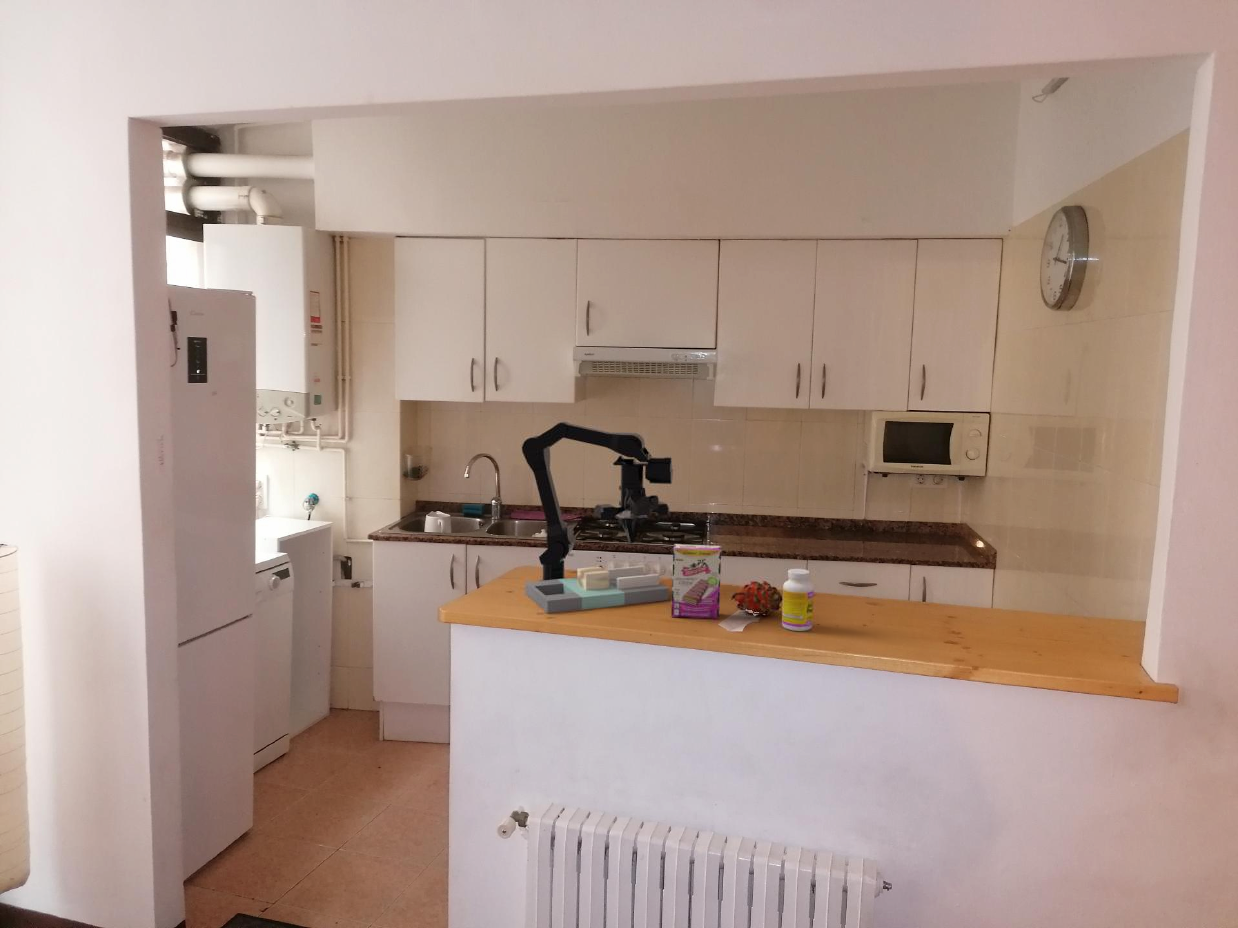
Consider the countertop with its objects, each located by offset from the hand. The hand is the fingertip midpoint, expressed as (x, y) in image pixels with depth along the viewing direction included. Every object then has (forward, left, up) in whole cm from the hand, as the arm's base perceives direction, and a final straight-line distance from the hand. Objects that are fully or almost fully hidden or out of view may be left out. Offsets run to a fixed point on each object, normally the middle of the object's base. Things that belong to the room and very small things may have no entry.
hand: (631, 542), depth 223 cm
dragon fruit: (+31, +18, -12) cm, 38 cm away
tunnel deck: (+4, -12, -12) cm, 17 cm away
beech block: (+5, -12, -9) cm, 16 cm away
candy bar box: (+27, +4, -12) cm, 30 cm away
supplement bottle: (+43, +21, -12) cm, 50 cm away
